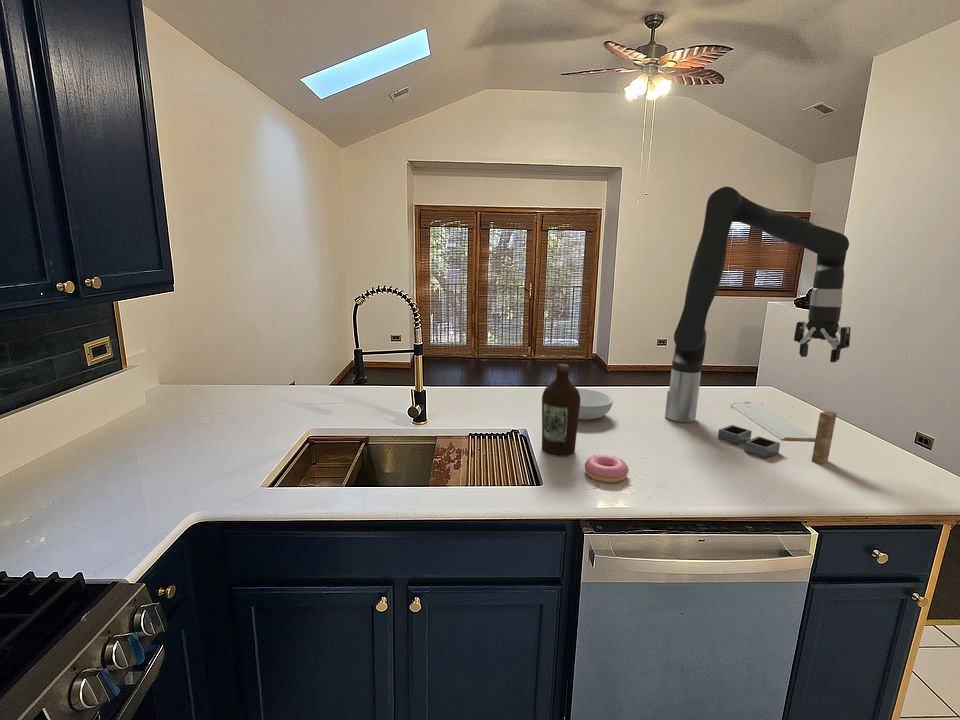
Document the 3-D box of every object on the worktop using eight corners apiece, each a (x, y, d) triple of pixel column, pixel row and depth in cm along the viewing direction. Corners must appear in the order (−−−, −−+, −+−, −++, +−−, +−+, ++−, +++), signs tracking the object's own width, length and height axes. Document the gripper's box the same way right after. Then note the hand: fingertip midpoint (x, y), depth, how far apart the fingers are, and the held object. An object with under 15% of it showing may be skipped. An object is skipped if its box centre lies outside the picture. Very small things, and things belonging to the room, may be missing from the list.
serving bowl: (609, 429, 159) (610, 409, 158) (544, 421, 166) (545, 401, 164) (613, 410, 179) (615, 391, 177) (555, 403, 185) (556, 385, 184)
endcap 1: (717, 438, 153) (718, 429, 152) (730, 433, 157) (732, 424, 157) (737, 445, 148) (738, 435, 147) (750, 439, 152) (751, 430, 152)
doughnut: (579, 466, 133) (579, 451, 132) (619, 465, 133) (620, 451, 132) (590, 485, 122) (592, 470, 121) (634, 484, 123) (636, 469, 122)
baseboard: (775, 441, 153) (814, 442, 153) (777, 432, 153) (816, 433, 152) (728, 409, 183) (761, 410, 183) (730, 401, 183) (762, 402, 182)
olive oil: (547, 440, 150) (552, 359, 144) (582, 447, 144) (587, 363, 139) (533, 452, 141) (537, 366, 135) (569, 460, 135) (575, 371, 130)
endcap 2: (743, 451, 144) (745, 441, 143) (757, 445, 148) (758, 436, 147) (765, 458, 139) (767, 448, 138) (778, 452, 143) (780, 443, 143)
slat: (811, 461, 138) (820, 413, 135) (817, 457, 140) (826, 410, 137) (821, 464, 136) (830, 415, 133) (827, 460, 138) (836, 413, 135)
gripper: (792, 302, 148) (786, 356, 151) (844, 307, 135) (836, 365, 139) (808, 301, 151) (802, 353, 154) (860, 305, 138) (852, 362, 142)
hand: (818, 359), depth 147 cm, fingers open, 8 cm apart
